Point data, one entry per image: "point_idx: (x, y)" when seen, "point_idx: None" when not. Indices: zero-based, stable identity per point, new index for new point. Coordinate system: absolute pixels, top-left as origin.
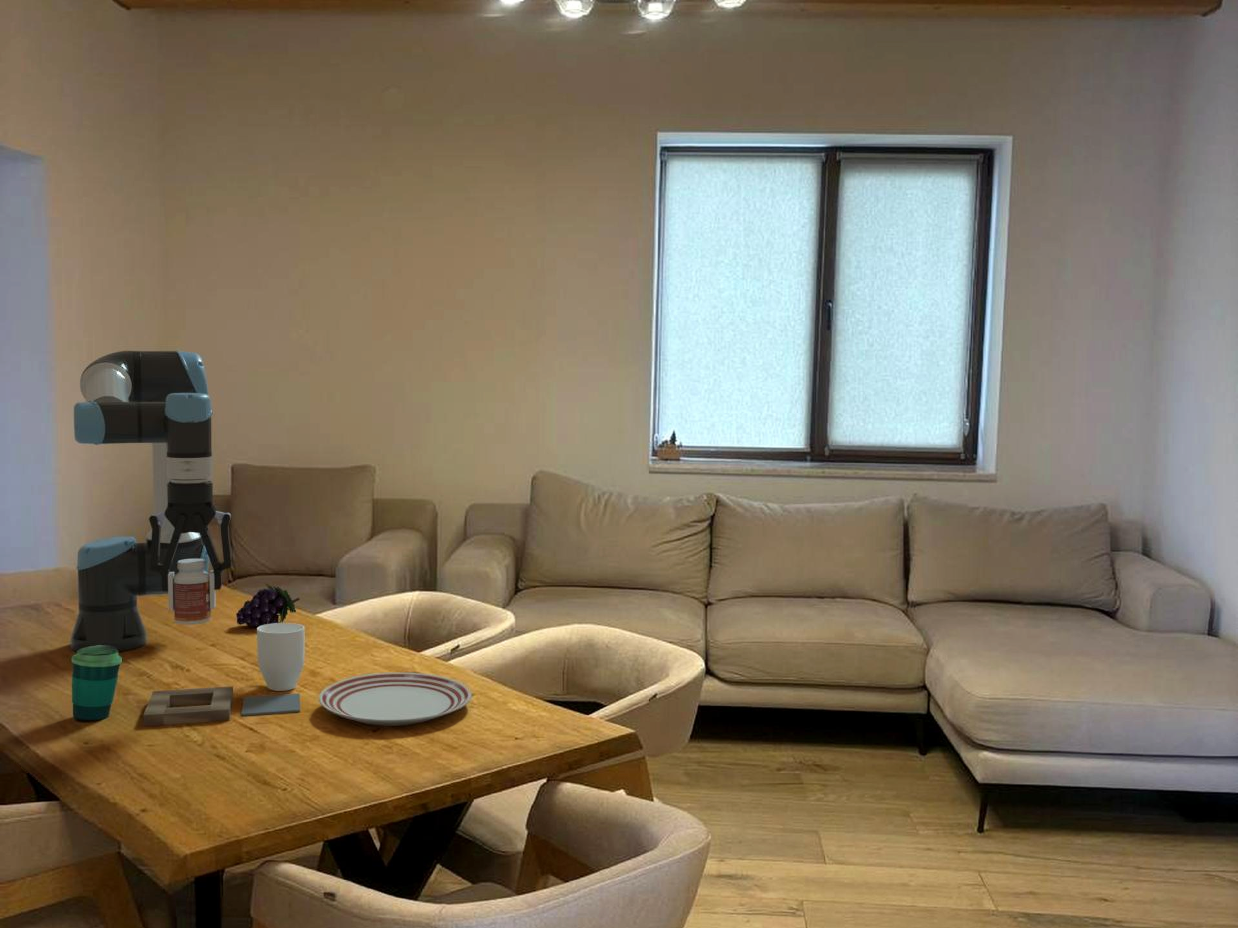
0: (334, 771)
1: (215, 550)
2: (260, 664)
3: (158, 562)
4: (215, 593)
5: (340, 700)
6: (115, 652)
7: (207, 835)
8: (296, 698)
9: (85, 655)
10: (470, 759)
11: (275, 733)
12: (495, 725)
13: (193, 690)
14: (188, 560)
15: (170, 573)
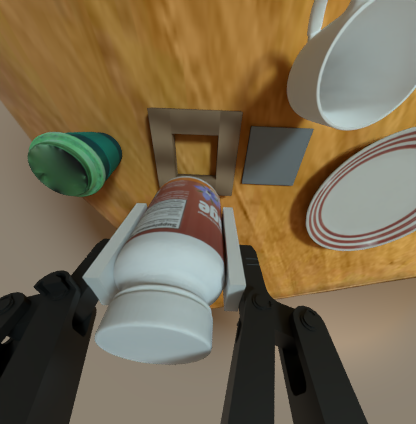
0: (274, 275)
1: (269, 417)
2: (289, 97)
3: (11, 327)
4: (235, 225)
5: (333, 185)
6: (90, 179)
7: (215, 302)
8: (302, 148)
9: (60, 193)
10: (343, 277)
11: (259, 224)
12: (401, 244)
13: (195, 118)
14: (139, 345)
15: (100, 293)
